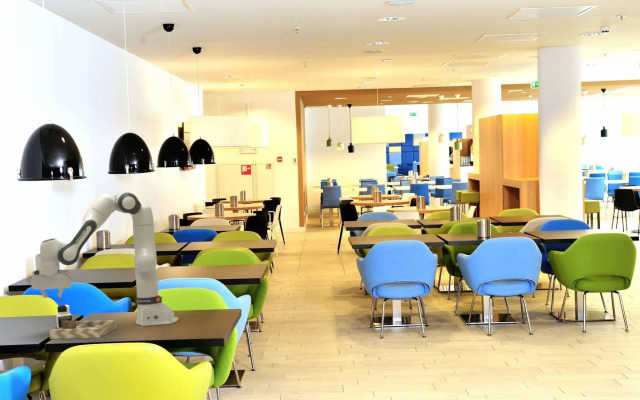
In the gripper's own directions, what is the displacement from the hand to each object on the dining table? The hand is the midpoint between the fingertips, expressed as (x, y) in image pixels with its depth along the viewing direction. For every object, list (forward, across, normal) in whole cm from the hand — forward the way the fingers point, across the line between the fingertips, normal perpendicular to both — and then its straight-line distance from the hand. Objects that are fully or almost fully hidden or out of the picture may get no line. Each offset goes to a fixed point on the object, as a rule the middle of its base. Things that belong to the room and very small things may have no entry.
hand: (52, 297), depth 372 cm
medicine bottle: (+20, +4, -17) cm, 26 cm away
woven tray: (+19, -16, 0) cm, 25 cm away
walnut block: (+17, -8, 0) cm, 19 cm away
